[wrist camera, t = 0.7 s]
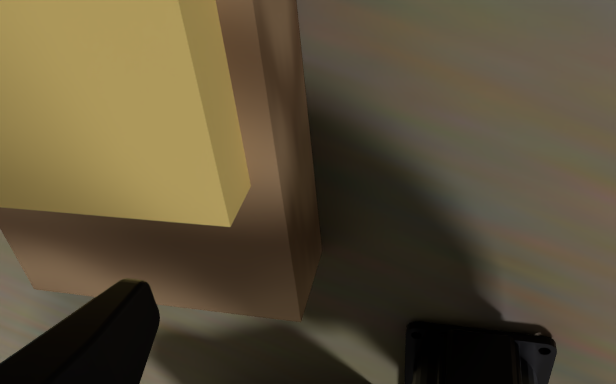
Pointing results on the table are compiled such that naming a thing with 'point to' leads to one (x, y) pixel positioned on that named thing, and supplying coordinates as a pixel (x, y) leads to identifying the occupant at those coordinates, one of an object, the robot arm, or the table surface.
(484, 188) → the table surface
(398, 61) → the table surface
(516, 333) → the robot arm
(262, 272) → the brown wooden block
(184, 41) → the yellow block
